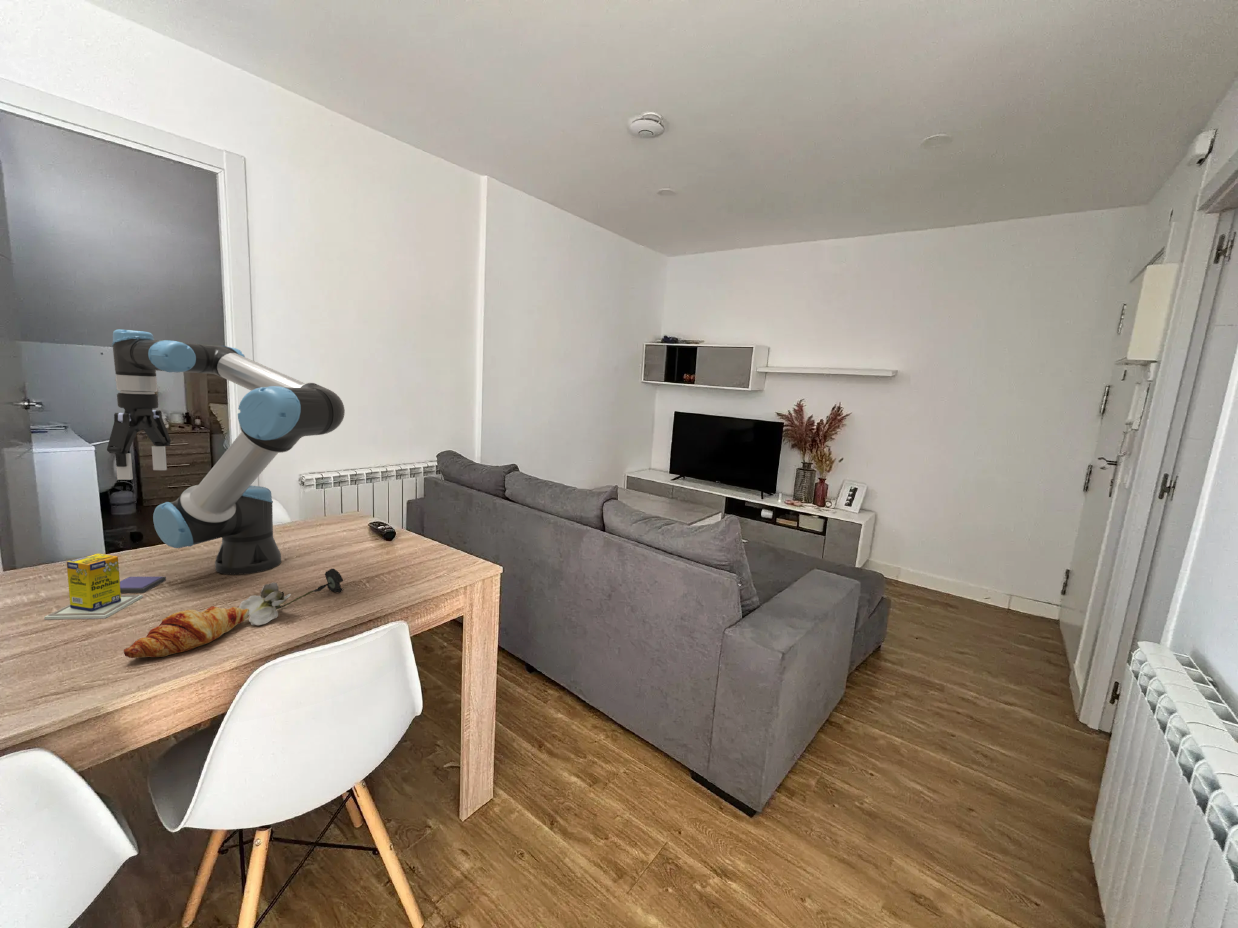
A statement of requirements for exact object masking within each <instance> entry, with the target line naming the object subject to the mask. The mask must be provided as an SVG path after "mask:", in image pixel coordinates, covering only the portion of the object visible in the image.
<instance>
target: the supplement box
mask: <svg viewBox="0 0 1238 928" xmlns="http://www.w3.org/2000/svg"><path fill="white" fill-rule="evenodd" d="M119 568H120V566H119V556H117V555H110V554H104V553H103V554H102V553H95V554H93V555H88V556H84V557H80V558H77V559H72V560H67V561H66V569H67V570H66V572H67V583H68V596H69V604H70V608H74V609H81V610H86V611H94V610H97V609H99V608H102V607H105V606H108V605H111V604H113V603H117V602H120V601H121V595H122V593H121V592H120V581H121V579H120V569H119Z"/></svg>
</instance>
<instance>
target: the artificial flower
mask: <svg viewBox="0 0 1238 928" xmlns="http://www.w3.org/2000/svg"><path fill="white" fill-rule="evenodd" d="M324 576H325V580H326V582H327V583H325V584H321V585H320V586H318V587H317V588H315V589H313V590H310V591H308V592H306V593H305V594H303V595H301V596H298V597H296V598H295V599H293V600H291V601H290V602H287V600H288V599H289V598H290V597H291V595H292V593H288V594H286V595H285V592H284V591H281V590H279V585H278V582H274V581H273V582H270V583H266V584H264V585H263V586H262V588H261V591H260V592H259V593H260V594H259V595H253V594H252V595H250V596H249V597H248V598H247V599H244V600H241V602H240V604H239V606H238V608H241V609H244V610H245V609H249V613H248V618H249V619H248V622H249V623H250V624H251V626H262V625H265V624H267V623H270V622H271V620H275V619H277V618H278V616H279V611H278V610H279V609H283V608H284V607H286V606H288V605H291V604H292V603H295V602H296V601H298V600H301V599H302V598H304V597H306V596H308V595H310V594H312V593H316V592H321V591H323V590H324V589H325V588H326V587H327V588H328V590H329V591H330V590H331V592H334V593H336V592H339V593H342V592H344V587H343V588H342V587H341V583H343V581H344V580H343V577H342V575H341V574H340V572H339V571H338V570H337V569H335V568H330V569H328V570H327V571H325V573H324ZM285 602H287V603H285ZM284 603H285V604H284ZM283 604H284V605H283Z"/></svg>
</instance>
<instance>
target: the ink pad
mask: <svg viewBox="0 0 1238 928" xmlns="http://www.w3.org/2000/svg"><path fill="white" fill-rule="evenodd" d="M166 581H167V577H166V576H128V577H127V578H125V579H122V580H120V592H121V594H144V593H145V592H146V593H147V592H148V591H150V590H151V589H153V588H155V587H157V586H158V585H160V584H162V583H164V582H166Z"/></svg>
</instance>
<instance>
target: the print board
mask: <svg viewBox="0 0 1238 928" xmlns="http://www.w3.org/2000/svg"><path fill="white" fill-rule="evenodd" d="M143 597H144V595H143V594H121V601H120V602H117V603H113V604H111V605H108V606H105V607H102V608H99V609H97V610H94V611H86V610H81V609H74V608H70V603H69V604H67V605H66V606H63V607H60V608H59V609H57V610H55V611H54V612H51V613H49V614H47V615H45V616H44V620H80V619H81V620H83V619H85V620H86V619H87V620H88V619H89V620H91V619H93V620H95V619H96V620H97V619H107V618H108V617H111V616H112V615H114V614H116V613H118V612H119V611H122V610H123V609H126V608H127V607H128V606H130V605H132V604H133V603H135V602H137V601H139V600H140V599H143Z"/></svg>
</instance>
